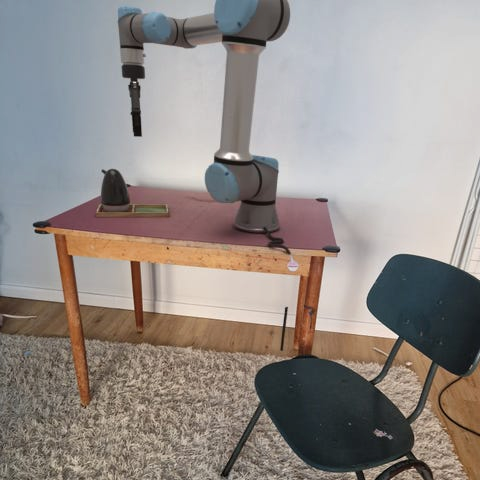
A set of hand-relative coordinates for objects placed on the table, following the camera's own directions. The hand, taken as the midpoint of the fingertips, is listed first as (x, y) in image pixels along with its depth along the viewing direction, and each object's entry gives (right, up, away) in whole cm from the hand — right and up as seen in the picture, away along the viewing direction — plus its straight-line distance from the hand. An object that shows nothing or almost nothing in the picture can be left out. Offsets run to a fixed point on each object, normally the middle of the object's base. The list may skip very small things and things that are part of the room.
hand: (137, 134), depth 149 cm
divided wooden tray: (-3, -26, +5) cm, 27 cm away
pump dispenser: (-9, -27, +4) cm, 28 cm away
